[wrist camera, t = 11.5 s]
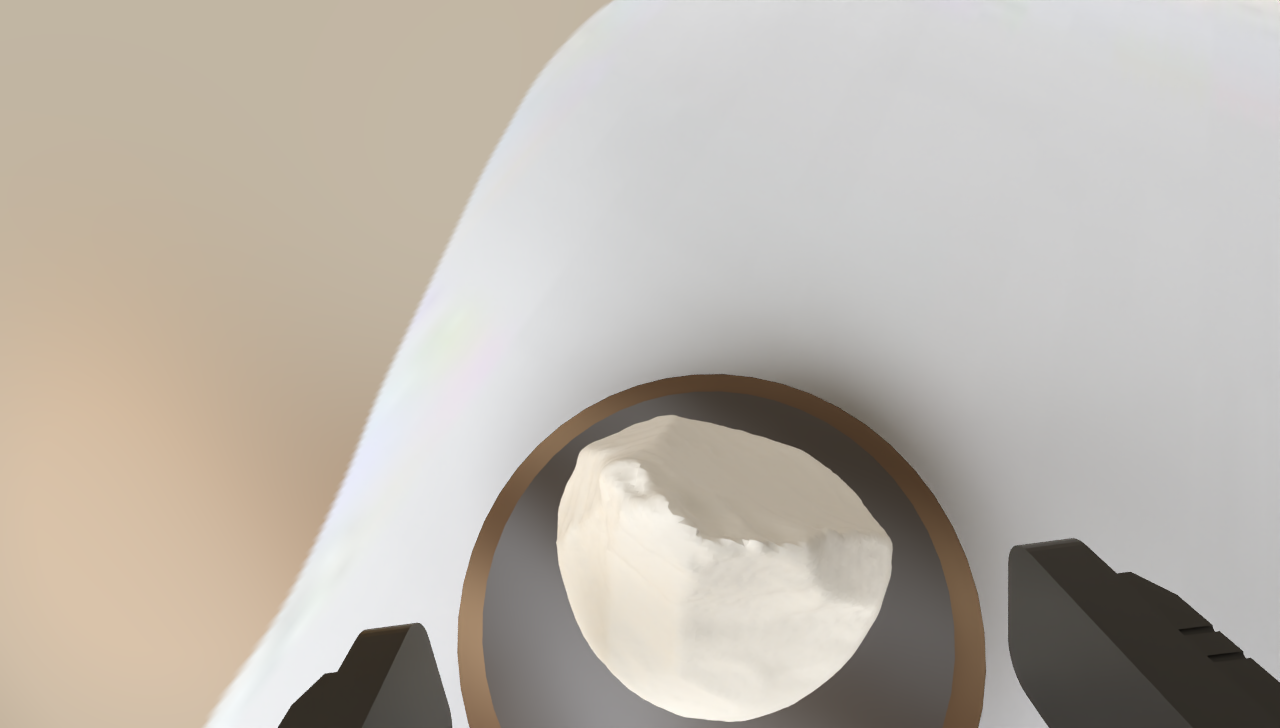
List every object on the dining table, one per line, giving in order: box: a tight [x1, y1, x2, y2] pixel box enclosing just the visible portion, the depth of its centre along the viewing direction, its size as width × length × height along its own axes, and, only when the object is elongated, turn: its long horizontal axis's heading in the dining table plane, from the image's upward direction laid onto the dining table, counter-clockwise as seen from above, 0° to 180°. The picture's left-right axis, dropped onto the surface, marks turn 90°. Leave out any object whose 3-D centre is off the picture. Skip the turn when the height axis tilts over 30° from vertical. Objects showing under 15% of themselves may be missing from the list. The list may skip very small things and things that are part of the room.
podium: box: [457, 374, 986, 728], centre depth 22 cm, size 15×15×5 cm
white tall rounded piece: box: [556, 415, 893, 722], centre depth 14 cm, size 6×12×6 cm
